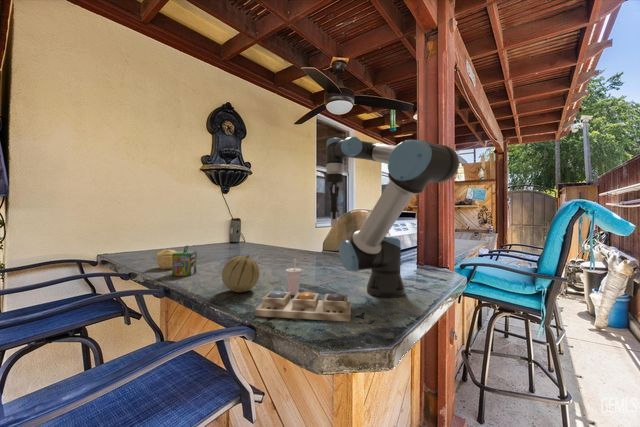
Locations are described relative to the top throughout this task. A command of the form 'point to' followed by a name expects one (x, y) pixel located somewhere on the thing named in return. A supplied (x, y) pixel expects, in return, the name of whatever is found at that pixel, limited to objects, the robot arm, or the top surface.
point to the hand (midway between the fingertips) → (334, 226)
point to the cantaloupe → (240, 274)
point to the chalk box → (184, 263)
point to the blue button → (277, 294)
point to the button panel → (304, 308)
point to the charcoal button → (335, 297)
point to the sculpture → (165, 259)
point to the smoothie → (293, 279)
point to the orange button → (306, 295)
